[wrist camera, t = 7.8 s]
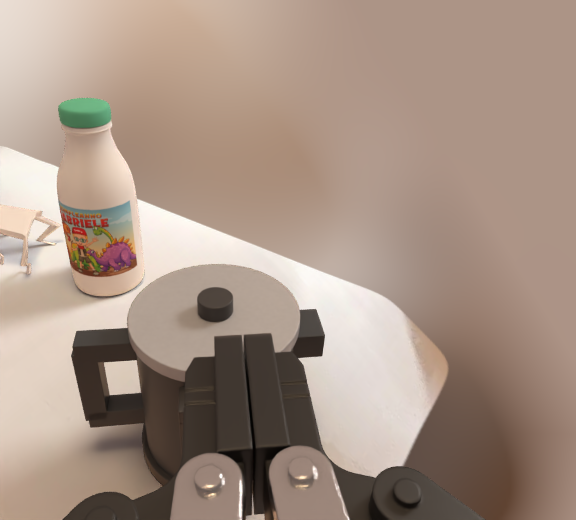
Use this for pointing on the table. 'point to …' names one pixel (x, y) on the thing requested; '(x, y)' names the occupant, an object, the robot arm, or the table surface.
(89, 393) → the kettle jug
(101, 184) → the milk bottle
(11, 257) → the table surface
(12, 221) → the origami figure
